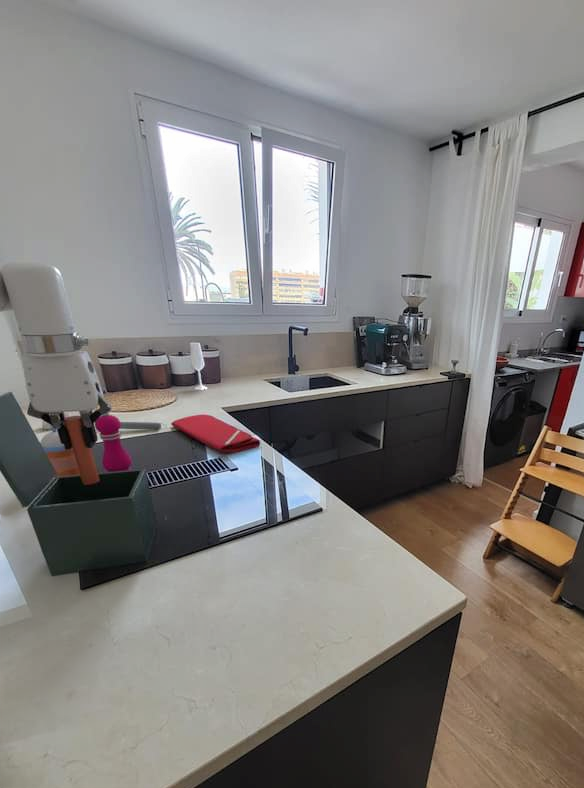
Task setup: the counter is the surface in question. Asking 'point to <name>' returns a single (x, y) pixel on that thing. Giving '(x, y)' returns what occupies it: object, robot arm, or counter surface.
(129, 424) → the kitchen whisk
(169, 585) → the counter surface
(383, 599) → the counter surface
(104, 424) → the pepper mill
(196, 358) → the champagne flute
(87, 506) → the bin
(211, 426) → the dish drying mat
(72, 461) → the cup with straw
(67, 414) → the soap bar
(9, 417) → the bin lid
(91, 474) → the orange cylinder
